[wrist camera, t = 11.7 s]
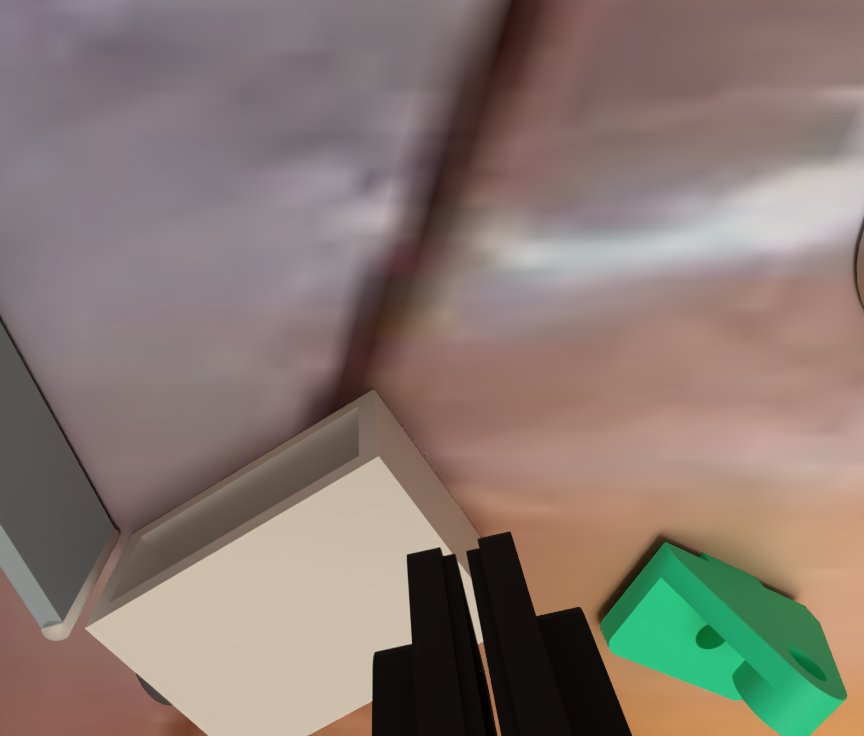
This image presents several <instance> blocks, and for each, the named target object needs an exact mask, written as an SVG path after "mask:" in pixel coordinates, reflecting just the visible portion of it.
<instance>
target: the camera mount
mask: <svg viewBox="0 0 864 736" xmlns="http://www.w3.org/2000/svg"><path fill="white" fill-rule="evenodd" d="M600 628H601V631H602V634H603V636H604V638H605V640H606V642H607V645H608V647H609V649H610V651H611V652H612V653H613V654H615V655H618V656H620V657H623V658H626V659H628V660H631V661H633V662H636V663H639V664H641V665H644V666H646V667H649V668H651V669H654V670H657V671H659V672H662V673H664V674H667V675H670V676H672V677H675V678H677V679H680V680H683V681H685V682H688V683H690V684H693V685H696V686H698V687H701V688H703V689H706V690H709V691H711V692H714V693H716V694H719V695H721V696H724V697H727V698H729V699H732V700H744V701H745V702H746V704H747V705H748V706H749V707H750V708H751V710H752V711H753V712H754V713H755V714H756V715H757V716H758V717H759V718H760V719H761V720H762V721H764V722H765V723H766V724H767V725H768V726H769V727H771V728H772V729H773V730H775V731H776V732H777V733H779V734H780V735H782V736H810V735H811V734H812V733H813V732H814V731H815V730H816V729H817V728H818V727H819V726H820V725H821V724H822V723H823V722H824V721H825V720H826V719H827V718H828V717H829V716H830V714H831V713H832V712H833V711H834V710H835V709H836V708H837V707H838V706H839V705H840V704H841V703H842V702H843V701H844V700H845V699H846V698H847V693H846V690H845V687H844V685H843V682H842V679H841V677H840V674H839V672H838V669H837V666H836V664H835V661H834V659H833V656H832V653H831V651H830V648H829V646H828V643H827V640H826V638H825V635H824V632H823V630H822V627H821V625H820V623H819V621H818V620H817V619H816V618H815V617H814V616H813V615H812V613H811V612H810V611H809V610H808V609H807V608H806V607H805V606H804V605H802V604H800V603H798V602H795V601H793V600H791V599H789V598H787V597H785V596H782V595H780V594H778V593H776V592H774V591H771V590H769V589H767V588H765V587H764V586H763V585H762V584H761V583H760V581H759V580H758V579H757V578H756V577H754V576H752V575H750V574H748V573H745V572H743V571H741V570H739V569H737V568H735V567H732V566H730V565H728V564H726V563H724V562H722V561H719V560H717V559H715V558H713V557H711V556H709V555H706V554H704V553H702V554H701V555H700V557H697V556H695V555H693V554H691V553H689V552H686V551H684V550H682V549H680V548H678V547H676V546H673V545H671V544H669V543H667V542H665V543H664V544H663V545H662V546H661V548H660V549H659V550H658V551H657V553H656V554H655V555H654V556H653V558H652V559H651V560H650V561H649V563H648V564H647V565H646V566H645V568H644V569H643V570H642V571H641V573H640V574H639V575H638V576H637V578H636V579H635V580H634V581H633V583H632V584H631V585H630V586H629V588H628V589H627V590H626V591H625V593H624V594H623V595H622V596H621V598H620V599H619V600H618V601H617V603H616V604H615V605H614V606H613V607H612V609H611V610H610V611H609V612H608V614H607V615H606V616H605V617H604V619H603V620H602V622H601V625H600Z"/></svg>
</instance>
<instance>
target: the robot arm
mask: <svg viewBox="0 0 864 736" xmlns="http://www.w3.org/2000/svg"><path fill="white" fill-rule="evenodd" d="M857 284H858V289H859V293H860V297H861V300H862V304H863V306H864V231H863V235H862V238H861V241H860V246H859V252H858V259H857ZM477 540H478V545H479V548H477V549H473V550H468V551H466V554H467V559H468V564H469V570H470V575H471V580H472V585H473V590H474V596H475V601H476V606H477V611H478V616H479V622H480V627H481V632H482V637H483V642H484V648H485V653H486V658H487V663H488V668H489V674H490V679H491V684H492V689H493V694H494V700H495V705H496V710H497V715H498V720H499V726H500V731H501V736H632V734H631V732H630V729H629V727H628V724H627V721H626V719H625V716H624V714H623V711H622V709H621V706H620V704H619V701H618V699H617V696H616V694H615V691H614V688H613V686H612V683H611V681H610V678H609V676H608V673H607V671H606V668H605V666H604V663H603V661H602V658H601V655H600V653H599V650H598V648H597V645H596V643H595V640H594V638H593V635H592V633H591V630H590V628H589V625H588V622H587V620H586V618H585V615H584V613H583V611H582V609H581V608H580V607H576V608H572V609H567V610H563V611H558V612H554V613H549V614H544V615H540V616H536V614H535V611H534V608H533V604H532V601H531V598H530V594H529V591H528V588H527V584H526V581H525V578H524V574H523V571H522V568H521V564H520V561H519V558H518V554H517V551H516V548H515V545H514V541H513V538H512V535H511V532H506V533H501V534H497V535H492V536H488V537H483V538H479V539H477ZM407 574H408V590H409V605H410V621H411V637H412V644H408V645H404V646H399V647H395V648H390V649H386V650H381V651H377V652H374V656H373V666H372V736H497V731H496V726H495V721H494V715H493V710H492V705H491V699H490V694H489V689H488V684H487V680H486V675H485V671H484V667H483V663H482V659H481V655H480V651H479V647H478V643H477V639H476V635H475V630H474V626H473V622H472V618H471V614H470V610H469V606H468V602H467V598H466V594H465V590H464V586H463V582H462V577H461V573H460V569H459V565H458V561H457V557H456V554H450V555H446V556H443V554H442V550H441V548H440V547H438V548H433V549H429V550H424V551H420V552H415V553H411V554H407Z"/></svg>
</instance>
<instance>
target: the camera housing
mask: <svg viewBox="0 0 864 736" xmlns="http://www.w3.org/2000/svg"><path fill="white" fill-rule="evenodd" d="M479 538H481V537H480V535H479V534H478V532H477V531H476V530H475V528H474V527H473V525H472V524H471V523H470V521H469V520H468V519H467V517H466V516H465V514H464V513H463V512H462V510H461V509H460V507H459V506H458V505H457V503H456V502H455V500H454V499H453V498H452V496H451V495H450V494H449V492H448V491H447V489H446V488H445V487H444V485H443V484H442V482H441V481H440V480H439V478H438V477H437V475H436V474H435V473H434V471H433V470H432V469H431V467H430V466H429V464H428V463H427V462H426V460H425V459H424V457H423V456H422V455H421V453H420V452H419V450H418V449H417V448H416V446H415V445H414V444H413V442H412V441H411V439H410V438H409V437H408V435H407V434H406V432H405V431H404V430H403V428H402V427H401V425H400V424H399V423H398V421H397V420H396V419H395V417H394V416H393V414H392V413H391V412H390V410H389V409H388V407H387V406H386V405H385V403H384V402H383V400H382V399H381V398H380V396H379V395H378V394H377V392H376V391H375V389H373V390H371V391H369V392H368V393H366V394H364V395H363V396H361V397H359V398H358V399H356V400H354V401H353V402H351V403H349V404H348V405H346V406H344V407H343V408H341V409H339V410H338V411H336V412H334V413H333V414H331V415H329V416H328V417H326V418H324V419H323V420H321V421H319V422H318V423H316V424H314V425H313V426H311V427H309V428H308V429H306V430H304V431H303V432H301V433H299V434H298V435H296V436H294V437H293V438H291V439H289V440H288V441H286V442H284V443H283V444H281V445H279V446H278V447H276V448H274V449H273V450H271V451H269V452H268V453H266V454H264V455H263V456H261V457H259V458H258V459H256V460H254V461H253V462H251V463H249V464H248V465H246V466H245V467H243V468H241V469H240V470H238V471H236V472H235V473H233V474H231V475H230V476H228V477H226V478H225V479H223V480H221V481H220V482H218V483H216V484H215V485H213V486H211V487H210V488H208V489H206V490H205V491H203V492H201V493H200V494H198V495H196V496H195V497H193V498H191V499H190V500H188V501H186V502H185V503H183V504H181V505H180V506H178V507H176V508H175V509H173V510H171V511H170V512H168V513H166V514H165V515H163V516H161V517H160V518H158V519H156V520H155V521H153V522H151V523H150V524H148V525H146V526H145V527H143V528H141V529H140V530H138V531H136V532H135V533H133V534H131V536H130V538H129V540H128V542H127V544H126V546H125V548H124V550H123V552H122V554H121V556H120V558H119V560H118V562H117V564H116V566H115V568H114V570H113V572H112V574H111V577H110V579H109V581H108V583H107V585H106V587H105V589H104V591H103V593H102V595H101V597H100V599H99V601H98V603H97V605H96V607H95V609H94V611H93V613H92V615H91V617H90V619H89V621H88V623H87V625H86V627H85V629H86V630H87V631H88V632H89V633H91V634H92V635H93V636H94V637H95V638H96V639H98V640H99V641H100V642H101V643H102V644H103V645H104V646H106V647H107V648H108V649H109V650H110V651H111V652H113V653H114V654H115V655H116V656H117V657H118V658H119V659H121V660H122V661H123V662H124V663H125V664H126V665H128V666H129V667H130V668H131V669H132V670H133V671H134V672H136V675H137V677H138V680H139V681H140V683H141V685H142V687H143V688H144V690H145V691H146V692H147V693H148V694H149V695H150V696H151V697H152V698H153V699H154V700H156V701H157V702H159V703H162V704H164V705H174V706H175V707H176V708H177V709H178V710H179V711H181V712H182V713H183V714H184V715H185V716H186V717H188V718H189V719H190V720H191V721H192V722H193V723H194V724H196V725H197V726H198V727H199V728H200V729H201V730H203V731H204V732H205V733H206V734H207V735H208V736H308V735H310V734H312V733H313V732H315V731H317V730H319V729H321V728H323V727H325V726H326V725H328V724H330V723H332V722H334V721H336V720H338V719H339V718H341V717H343V716H345V715H347V714H349V713H351V712H353V711H354V710H356V709H358V708H360V707H362V706H364V705H366V704H367V703H369V702H371V701H372V666H373V656H374V652H377V651H381V650H386V649H390V648H395V647H399V646H404V645H408V644H412V637H411V621H410V605H409V590H408V574H407V554H411V553H415V552H420V551H424V550H429V549H433V548H438V547H440V548H441V550H442V554H443V556H446V555H450V554H456V557H457V561H458V565H459V569H460V573H461V577H462V582H463V586H464V590H465V594H466V598H467V602H468V606H469V610H470V614H471V618H472V622H473V626H474V630H475V635H476V639H477V643H478V644H479V643H481V642H483V637H482V632H481V627H480V622H479V616H478V611H477V606H476V601H475V596H474V590H473V585H472V580H471V575H470V570H469V564H468V559H467V554H466V551H468V550H473V549H477V548H479V545H478V540H477V539H479Z"/></svg>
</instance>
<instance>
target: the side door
mask: <svg viewBox="0 0 864 736" xmlns="http://www.w3.org/2000/svg"><path fill="white" fill-rule="evenodd" d="M119 537H120V535H119V532H118V531H117V530H116V529H115V528H114V527H113V525H112V523H111V521H110V519H109V518H108V516H107V514H106V512H105V510H104V508H103V507H102V505H101V503H100V501H99V499H98V498H97V496H96V494H95V492H94V490H93V489H92V487H91V485H90V483H89V481H88V480H87V478H86V476H85V474H84V472H83V470H82V469H81V467H80V465H79V463H78V461H77V460H76V458H75V456H74V454H73V452H72V451H71V449H70V447H69V445H68V443H67V441H66V440H65V438H64V436H63V434H62V432H61V431H60V429H59V427H58V425H57V423H56V422H55V420H54V418H53V416H52V414H51V413H50V411H49V409H48V407H47V405H46V403H45V402H44V400H43V398H42V396H41V394H40V393H39V391H38V389H37V387H36V385H35V384H34V382H33V380H32V378H31V376H30V374H29V373H28V371H27V369H26V367H25V365H24V364H23V362H22V360H21V358H20V356H19V355H18V353H17V351H16V349H15V347H14V345H13V344H12V342H11V340H10V338H9V336H8V335H7V333H6V331H5V329H4V327H3V326H2V324H1V322H0V566H1V568H2V569H3V571H4V572H5V574H6V575H7V577H8V578H9V580H10V581H11V583H12V584H13V586H14V587H15V589H16V591H17V592H18V594H19V595H20V597H21V598H22V600H23V601H24V603H25V604H26V606H27V607H28V609H29V610H30V612H31V613H32V615H33V616H34V618H35V619H36V621H37V622H38V624H39V625H40V627H41V631H42V634H43V635H44V636H45V637H46V638H48V639H50V640H53V641H61V640H64V639H66V638H67V637H68V636H69V634H70V632H71V630H72V628H73V626H74V624H75V623H76V621H77V619H78V617H79V615H80V613H81V611H82V609H83V607H84V605H85V603H86V601H87V599H88V597H89V596H90V594H91V592H92V590H93V588H94V586H95V584H96V582H97V580H98V578H99V576H100V574H101V572H102V570H103V569H104V567H105V565H106V563H107V561H108V559H109V557H110V555H111V553H112V551H113V549H114V547H115V545H116V543H117V542H118V540H119Z"/></svg>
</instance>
